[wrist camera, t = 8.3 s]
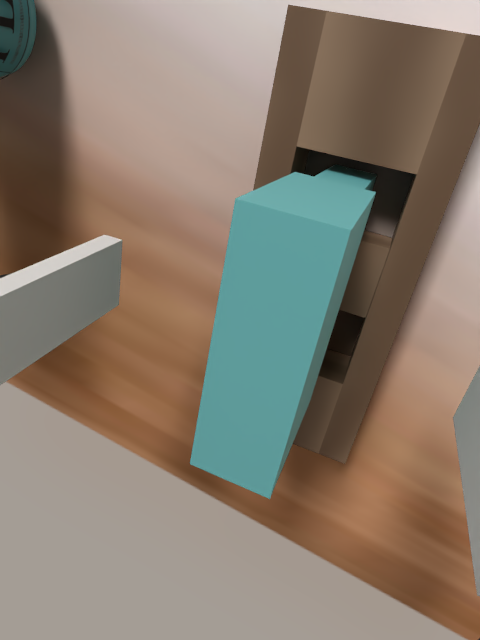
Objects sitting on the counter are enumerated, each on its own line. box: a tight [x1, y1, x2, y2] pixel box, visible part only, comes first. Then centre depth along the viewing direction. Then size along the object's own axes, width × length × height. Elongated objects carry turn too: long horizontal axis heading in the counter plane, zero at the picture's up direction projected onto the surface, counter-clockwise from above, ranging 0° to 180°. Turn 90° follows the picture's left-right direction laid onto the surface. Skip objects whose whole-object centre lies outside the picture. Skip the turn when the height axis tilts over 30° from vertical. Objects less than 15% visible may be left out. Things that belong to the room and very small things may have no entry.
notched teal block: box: [190, 164, 377, 499], centre depth 18 cm, size 3×9×12 cm, turn 168°
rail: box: [253, 5, 480, 464], centre depth 22 cm, size 8×20×3 cm, turn 168°
